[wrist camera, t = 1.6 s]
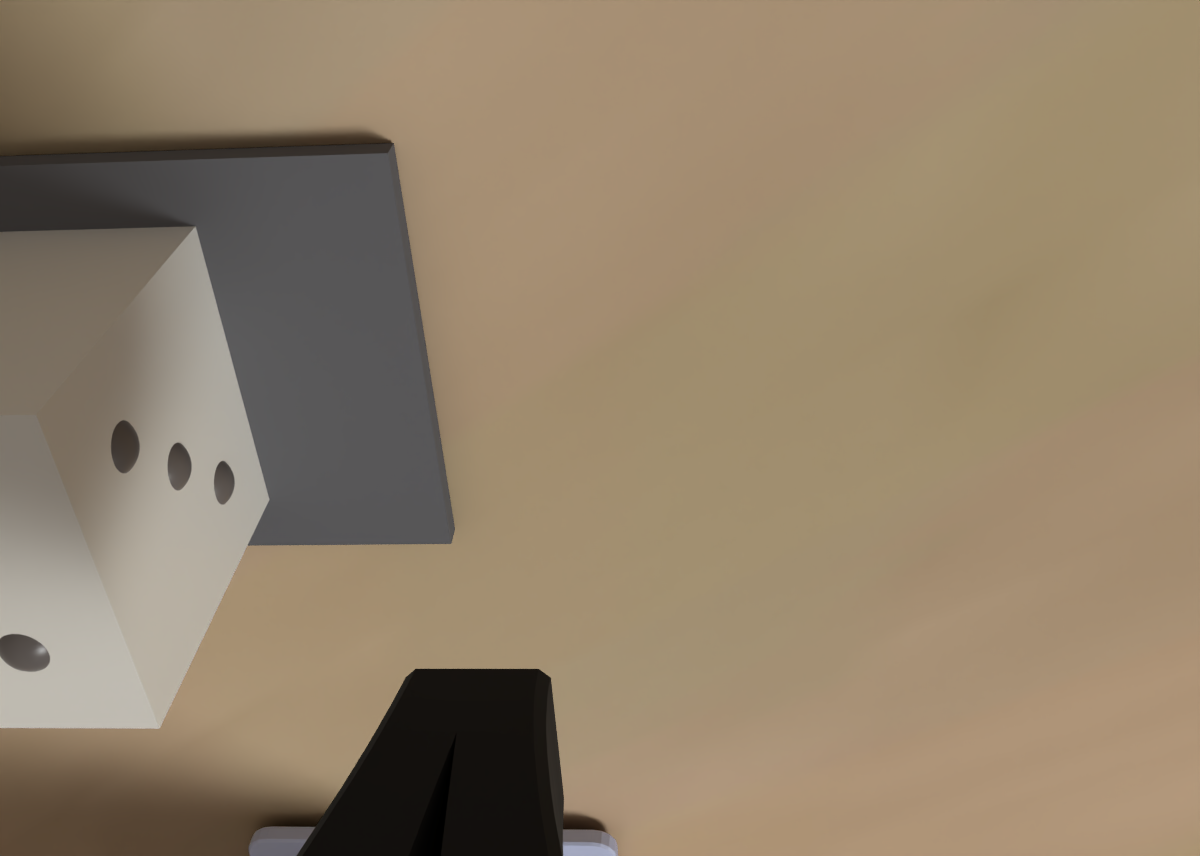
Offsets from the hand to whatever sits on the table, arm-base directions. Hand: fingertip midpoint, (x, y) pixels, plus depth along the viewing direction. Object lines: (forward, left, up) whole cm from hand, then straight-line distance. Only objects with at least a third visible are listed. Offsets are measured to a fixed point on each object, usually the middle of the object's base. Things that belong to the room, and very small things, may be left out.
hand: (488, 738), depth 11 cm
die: (0, +8, -7) cm, 10 cm away
